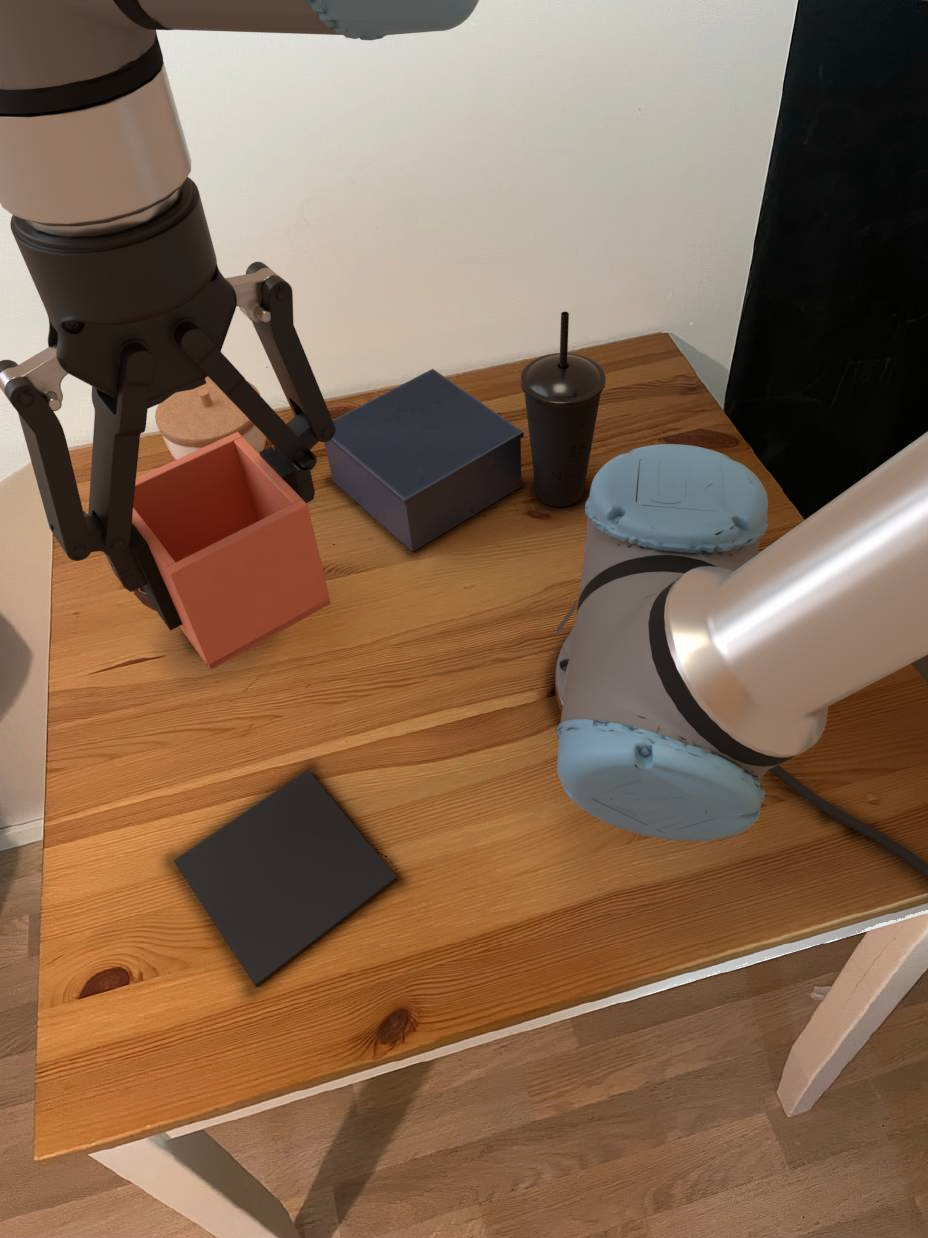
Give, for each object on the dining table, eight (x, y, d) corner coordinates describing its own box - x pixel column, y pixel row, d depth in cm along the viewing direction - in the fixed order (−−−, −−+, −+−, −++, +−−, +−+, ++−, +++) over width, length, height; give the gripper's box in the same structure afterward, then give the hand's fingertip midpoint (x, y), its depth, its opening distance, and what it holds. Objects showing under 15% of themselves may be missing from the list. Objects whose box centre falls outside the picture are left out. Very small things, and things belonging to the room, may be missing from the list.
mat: (397, 879, 68) (396, 877, 67) (256, 987, 63) (254, 985, 63) (308, 771, 74) (307, 769, 74) (175, 862, 69) (173, 860, 69)
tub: (331, 603, 55) (308, 504, 49) (210, 670, 52) (169, 574, 46) (266, 530, 59) (237, 430, 53) (151, 588, 56) (107, 490, 50)
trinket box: (286, 434, 102) (268, 361, 95) (263, 500, 95) (241, 427, 88) (193, 432, 103) (168, 360, 96) (163, 497, 96) (134, 425, 89)
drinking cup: (505, 491, 94) (501, 314, 78) (558, 456, 97) (563, 279, 82) (560, 528, 90) (566, 350, 75) (613, 490, 93) (629, 311, 78)
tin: (524, 486, 94) (523, 431, 89) (412, 554, 89) (404, 500, 84) (437, 422, 102) (432, 368, 97) (329, 481, 97) (318, 427, 91)
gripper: (281, 93, 43) (350, 470, 60) (-195, 243, 35) (41, 625, 53) (369, 145, 39) (415, 533, 56) (-147, 327, 31) (91, 710, 49)
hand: (234, 577), depth 54 cm, fingers closed on tub, 8 cm apart
